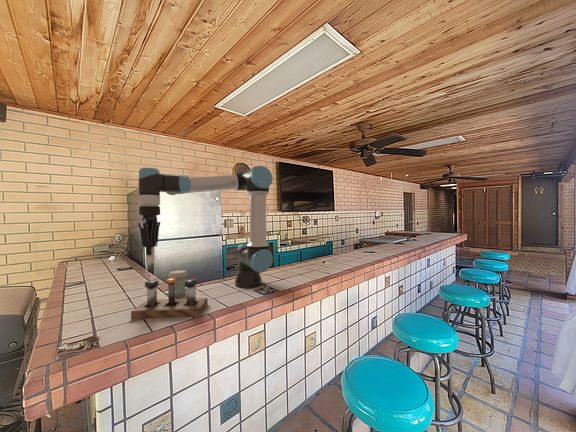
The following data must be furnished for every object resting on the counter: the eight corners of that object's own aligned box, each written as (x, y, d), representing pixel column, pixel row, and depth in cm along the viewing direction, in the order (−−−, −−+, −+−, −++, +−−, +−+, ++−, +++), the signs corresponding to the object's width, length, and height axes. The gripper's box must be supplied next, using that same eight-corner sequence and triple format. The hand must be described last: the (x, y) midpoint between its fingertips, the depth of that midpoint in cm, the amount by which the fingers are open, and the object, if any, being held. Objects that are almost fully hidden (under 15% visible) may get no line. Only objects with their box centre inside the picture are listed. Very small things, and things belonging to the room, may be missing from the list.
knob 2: (199, 300, 102) (198, 278, 102) (195, 305, 97) (194, 282, 97) (187, 301, 102) (187, 279, 102) (182, 305, 97) (182, 282, 97)
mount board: (207, 304, 106) (207, 297, 106) (199, 316, 94) (198, 308, 94) (147, 306, 104) (147, 299, 104) (131, 318, 92) (131, 311, 92)
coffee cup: (164, 297, 116) (164, 272, 116) (179, 291, 124) (179, 268, 123) (176, 299, 112) (175, 274, 112) (191, 294, 120) (190, 270, 119)
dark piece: (177, 302, 101) (177, 278, 101) (174, 305, 98) (173, 280, 97) (169, 302, 101) (168, 278, 101) (165, 305, 97) (165, 280, 97)
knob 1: (161, 302, 101) (160, 279, 101) (155, 306, 96) (154, 283, 96) (149, 302, 101) (148, 280, 101) (142, 307, 96) (142, 283, 96)
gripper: (148, 206, 104) (149, 259, 105) (130, 205, 91) (131, 266, 92) (166, 206, 105) (166, 259, 105) (150, 205, 92) (151, 265, 92)
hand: (150, 262), depth 98 cm, fingers closed
